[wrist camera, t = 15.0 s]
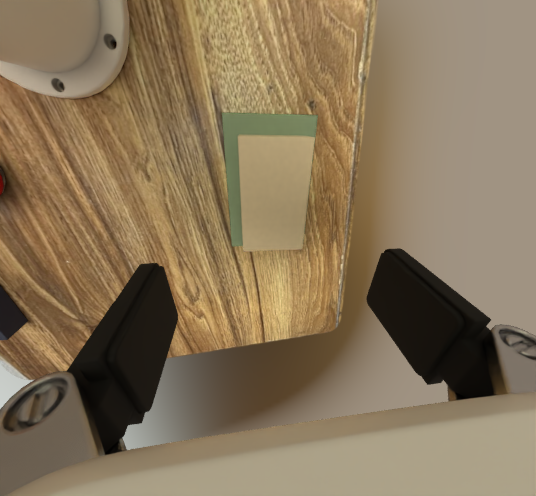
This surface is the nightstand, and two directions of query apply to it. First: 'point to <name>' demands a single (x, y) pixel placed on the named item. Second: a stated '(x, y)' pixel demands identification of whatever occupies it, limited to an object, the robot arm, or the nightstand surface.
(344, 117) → the nightstand surface
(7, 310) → the navy rectangular box
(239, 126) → the mat
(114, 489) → the robot arm
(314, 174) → the nightstand surface
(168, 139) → the nightstand surface
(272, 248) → the tan cardboard box
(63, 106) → the nightstand surface
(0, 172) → the beverage can
